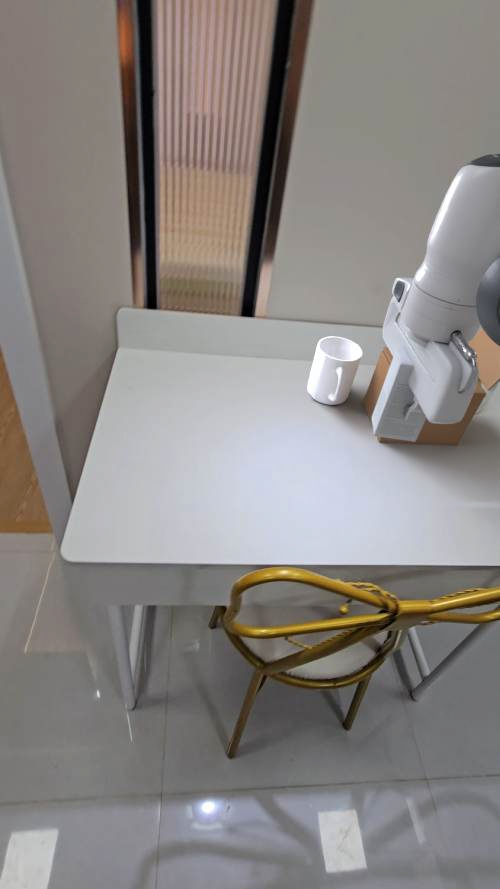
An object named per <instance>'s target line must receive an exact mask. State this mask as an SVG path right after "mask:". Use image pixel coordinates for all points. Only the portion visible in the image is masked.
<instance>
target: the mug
mask: <svg viewBox="0 0 500 889" xmlns="http://www.w3.org/2000/svg"><path fill="white" fill-rule="evenodd" d="M362 357H363V349H362V347H361V346H360V345H359V344H358V343H356V342H354V341H353V340H350V339H348V338H346V337H341V336H333V335H332V336H325V337H321V339H319V340H318V342H317V345H316V349H315V353H314V355H313V361H312V364H311V368H310V373H309V377H308V381H307V387H306V390H307V393H308V394H309V396H310V397H311V398H312V399H313V400H315V401H316V402H318V403H320V404H322V405H323V404H324V405H328V406H335V405H340V404H343V403H344V402H346V401H347V399H348V397H349V395H350V392H351V390H352V387H353V383H354V380H355V378H356V375H357V371H358V369H359V366H360V363H361V359H362Z"/></svg>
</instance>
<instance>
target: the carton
mask: <svg viewBox="0 0 500 889" xmlns="http://www.w3.org/2000/svg"><path fill="white" fill-rule="evenodd" d="M379 354H380V355H379V356H378V360H377V362H376V366H375V368H374V371H373V374H372V377H371V379H370V382H369V385H368V388H367V391H366V393H365V396H364V398H363V402H362V404H363V406H364V409H365V411H366V413H367V416H368V418H369V421H370V423H371V426H372V427H373V425H372V415H373V412H374V410H375V407H376V404H377V401H378V399H379V396H380V393H381V390H382V387H383V385H384V382H385V379H386V376H387V373H388V370H389V368H390V365H391V362H392V359H393V356H392V354H391V352H390V350H389V349H388V347H387V346H384V347H382V350H381V352H380V353H379ZM486 395H487V392H486V391H485V389H484V388H483V387H482V385H481V384H480V383H479V381H478V382H477V386H476V388H475V391H474V394H473V396H472V399H471V401H470V404H469V406H468V408H467V410H466V412H465V415H464V417H463V418H462V420H461V421H459V422H457V423H454V424H436V423H431V422H429V421H428V419H427V418H426V420H425V422H424V424H423V427H422V429H421V431H420V433H419V435H418V437H417V440H416V441H415V442H413V441H406V440H399V439H392V438H385V437H377V436H376V439H377V441H378V443H385V444H409V445H410V444H412V445H435V446H436V445H438V446H439V445H441V446H443V445H444V446H458V444H459V442H460V441H461V439H462V437H463V435H464V434H465V432H466V430H467V429H468V427H469V425H470V423H471V421H472V420H473V418H474V416H475V414H477V411H478V409H479V407H480V406H481V405H482V402H483V401H484V399H485V397H486Z"/></svg>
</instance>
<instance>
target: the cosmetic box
mask: <svg viewBox="0 0 500 889" xmlns="http://www.w3.org/2000/svg"><path fill="white" fill-rule="evenodd" d="M413 367H414V366H413V363H412V362H411V360H410V358H409V357H408V355H407V353H406V352H405V350H404V349H402V348H397V349H396V351H395V354H394V356H393V359H392V362H391V365H390V368H389V370H388V373H387V376H386V379H385V382H384V385H383V387H382V390H381V393H380V396H379V399H378V401H377V404H376V407H375V410H374V412H373V415H372V424H371V426H372V425H373V426H372V430H373V436H374V437H376V438H377V437H385V438H392V439H399V440H406V441H413V442H415V441H416V440H417V437H418V435H419V433H420V431H421V429H422V427H423V424H424V422H425V420H426V418H427V417H426V416H425V414H424V413H423V414H422V416H421V418H420V420H419V421H418V422H416V423H411V422H407V421H406V419H405V417H404V415H403V412H404V411H405V408H406V405H413V404H414V403H415V402H414V400H413V399H414V397H415V396H414V394H413V392H412V390H411V388H410V387H409V385H408V379H409V376H410V374H411V372H412V369H413Z"/></svg>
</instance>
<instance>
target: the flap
mask: <svg viewBox="0 0 500 889" xmlns="http://www.w3.org/2000/svg"><path fill="white" fill-rule="evenodd" d="M468 344H469V346H470V347H471V348H473V349H474V350H475V352H476V354H477V359H476V363H477V365H478V368H479V378H478V380H479V381H480V382H481V384H482V385H483V386H484V387H485V389H486V390H487V391H488V392H489V391H491V390H492V389H493V388H494V387H495V386H496V385H497V384H498V383H499V382H500V346H499V345H497V344H496V343H495V342H494V341H492V340H491V339H490V338H489V336H488V335H487V334H486V333H485V331H484V330H483V328H482V327H481V329H480V330H478V332H477V333H476V335H475V337H474V338H473V339H472V340H471V341H469V342H468Z"/></svg>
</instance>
